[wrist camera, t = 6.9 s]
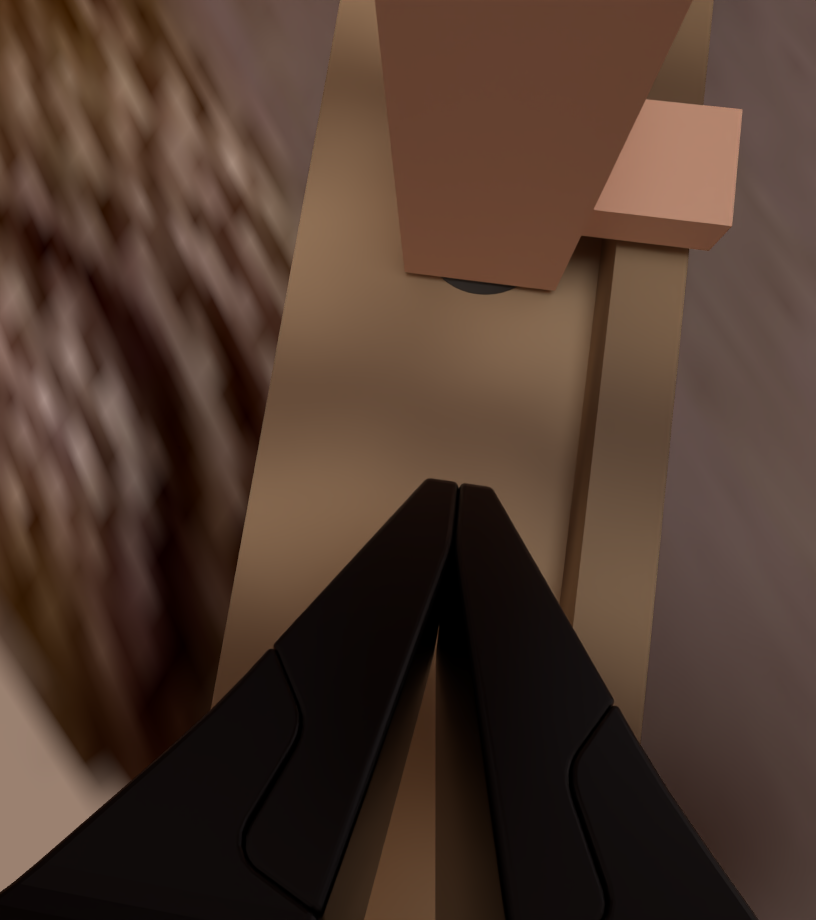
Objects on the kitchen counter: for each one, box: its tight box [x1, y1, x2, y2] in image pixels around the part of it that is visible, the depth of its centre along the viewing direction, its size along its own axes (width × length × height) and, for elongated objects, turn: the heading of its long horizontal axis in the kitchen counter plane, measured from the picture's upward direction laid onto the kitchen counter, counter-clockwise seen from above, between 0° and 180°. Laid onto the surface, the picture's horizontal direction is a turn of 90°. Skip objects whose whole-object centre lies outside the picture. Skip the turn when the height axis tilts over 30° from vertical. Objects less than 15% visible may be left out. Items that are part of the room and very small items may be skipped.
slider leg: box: [375, 0, 742, 291], centre depth 10 cm, size 4×6×10 cm, turn 81°
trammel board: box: [211, 0, 714, 920], centre depth 10 cm, size 32×9×11 cm, turn 171°
